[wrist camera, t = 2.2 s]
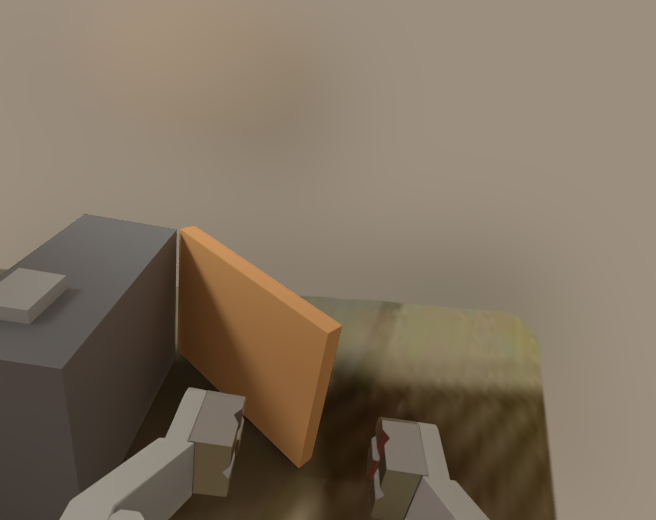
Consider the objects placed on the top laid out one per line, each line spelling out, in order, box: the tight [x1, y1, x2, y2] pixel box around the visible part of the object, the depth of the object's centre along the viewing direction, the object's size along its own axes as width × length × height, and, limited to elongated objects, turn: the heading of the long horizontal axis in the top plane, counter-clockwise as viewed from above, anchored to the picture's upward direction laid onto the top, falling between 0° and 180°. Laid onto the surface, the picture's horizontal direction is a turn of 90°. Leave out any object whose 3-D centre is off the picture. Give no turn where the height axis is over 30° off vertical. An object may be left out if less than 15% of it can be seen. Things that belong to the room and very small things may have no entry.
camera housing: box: [0, 214, 177, 520], centre depth 35 cm, size 8×19×16 cm, turn 178°
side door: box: [178, 226, 342, 468], centre depth 39 cm, size 3×18×14 cm, turn 48°
